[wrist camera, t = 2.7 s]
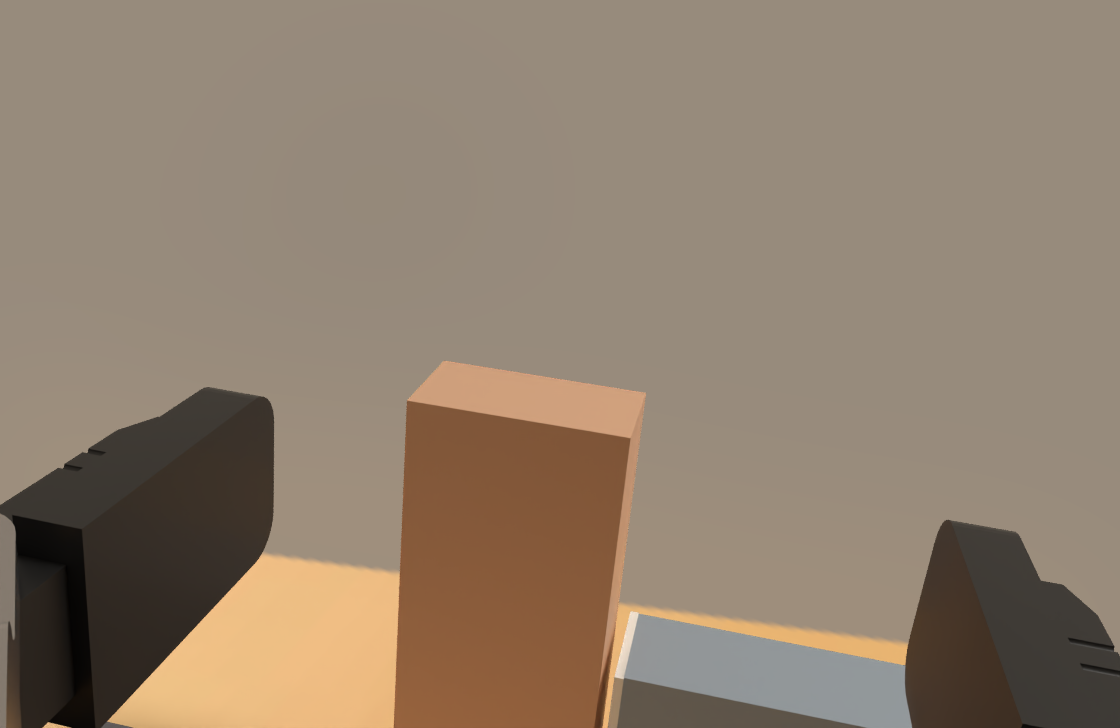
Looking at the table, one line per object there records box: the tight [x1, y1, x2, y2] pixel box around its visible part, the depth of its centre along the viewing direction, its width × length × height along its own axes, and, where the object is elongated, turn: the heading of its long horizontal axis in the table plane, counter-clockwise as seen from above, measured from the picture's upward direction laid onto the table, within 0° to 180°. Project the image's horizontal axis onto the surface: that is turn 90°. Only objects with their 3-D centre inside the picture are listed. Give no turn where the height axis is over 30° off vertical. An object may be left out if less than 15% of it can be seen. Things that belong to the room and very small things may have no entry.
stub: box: [394, 361, 646, 728], centre depth 29 cm, size 6×3×14 cm, turn 78°
